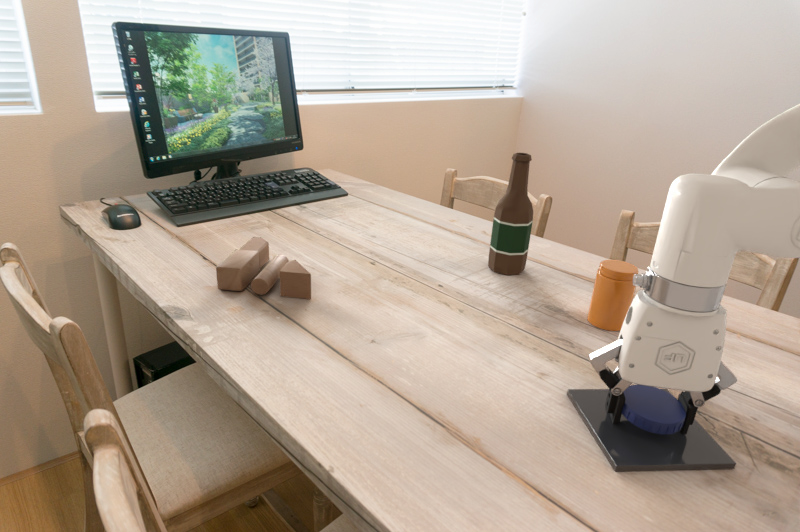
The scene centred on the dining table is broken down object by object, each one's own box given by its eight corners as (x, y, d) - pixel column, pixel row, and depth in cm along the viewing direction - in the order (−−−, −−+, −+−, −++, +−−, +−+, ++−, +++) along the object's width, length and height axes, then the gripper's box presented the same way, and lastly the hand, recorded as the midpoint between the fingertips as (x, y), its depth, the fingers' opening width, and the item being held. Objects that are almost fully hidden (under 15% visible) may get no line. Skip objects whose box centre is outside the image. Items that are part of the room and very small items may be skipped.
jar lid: (616, 388, 67) (619, 378, 67) (676, 402, 66) (680, 392, 65) (620, 425, 61) (624, 414, 60) (687, 441, 59) (692, 430, 59)
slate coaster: (665, 393, 72) (666, 388, 72) (734, 469, 59) (736, 463, 59) (566, 394, 70) (567, 389, 70) (615, 471, 58) (616, 465, 57)
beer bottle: (487, 260, 115) (501, 148, 106) (523, 263, 114) (540, 152, 105) (487, 273, 108) (502, 155, 99) (526, 277, 107) (545, 159, 98)
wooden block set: (212, 262, 91) (250, 230, 107) (214, 292, 93) (252, 256, 109) (309, 271, 89) (332, 237, 106) (309, 301, 91) (332, 263, 108)
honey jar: (616, 314, 94) (629, 259, 90) (632, 331, 88) (647, 274, 84) (581, 312, 94) (592, 258, 90) (595, 330, 88) (608, 272, 84)
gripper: (606, 294, 55) (576, 430, 62) (786, 314, 53) (734, 454, 60) (594, 267, 62) (568, 393, 69) (753, 285, 60) (710, 413, 67)
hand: (646, 421), depth 64 cm, fingers closed on jar lid, 7 cm apart
